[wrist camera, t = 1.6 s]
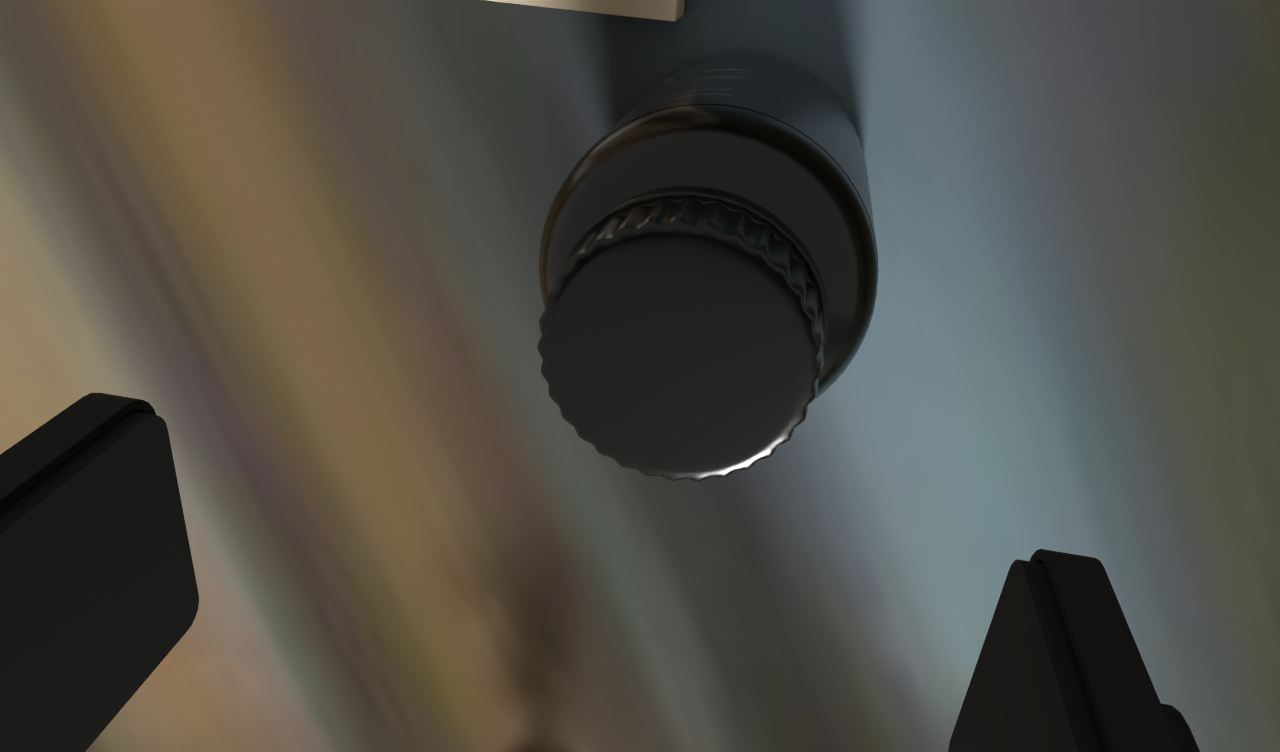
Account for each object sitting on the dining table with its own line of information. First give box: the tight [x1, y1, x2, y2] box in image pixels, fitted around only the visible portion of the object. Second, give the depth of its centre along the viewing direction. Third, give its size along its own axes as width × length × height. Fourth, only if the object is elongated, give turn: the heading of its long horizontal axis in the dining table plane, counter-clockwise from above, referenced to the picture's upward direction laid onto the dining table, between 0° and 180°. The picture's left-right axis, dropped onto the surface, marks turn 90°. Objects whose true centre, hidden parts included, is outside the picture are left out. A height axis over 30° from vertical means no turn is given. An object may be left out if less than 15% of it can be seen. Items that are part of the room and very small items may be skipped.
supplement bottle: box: [538, 54, 878, 481], centre depth 21 cm, size 7×7×12 cm
